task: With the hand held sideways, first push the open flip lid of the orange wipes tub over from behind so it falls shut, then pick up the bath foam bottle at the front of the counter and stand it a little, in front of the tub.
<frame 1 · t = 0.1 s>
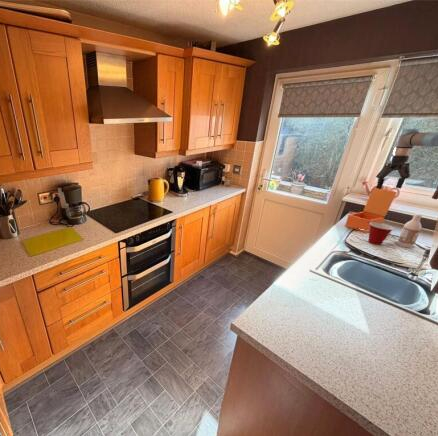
hand: (388, 188, 152), 29 cm above the worktop, tool pointing down, fingers open, 13 cm apart
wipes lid: (379, 202, 162), point 18 cm above the worktop, hinge at 100.0°
bath foam: (404, 245, 139), on the worktop
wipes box: (362, 227, 165), on the worktop
plastic cup: (374, 243, 143), on the worktop
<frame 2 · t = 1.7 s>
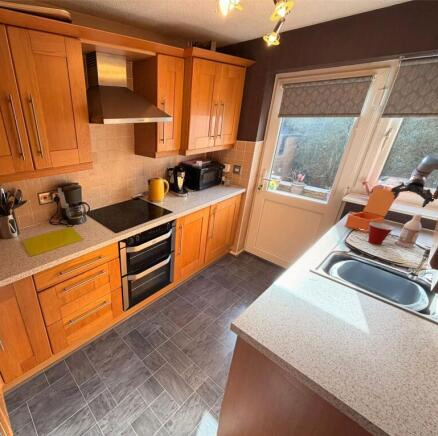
hand: (409, 201, 147), 22 cm above the worktop, tool tilted 65°, fingers open, 13 cm apart
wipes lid: (379, 202, 162), point 18 cm above the worktop, hinge at 107.2°
everything else where it was.
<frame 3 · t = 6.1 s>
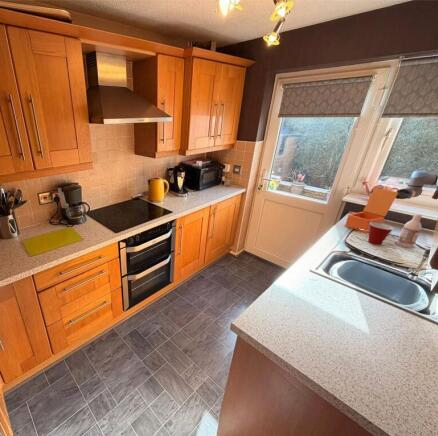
hand: (385, 197, 160), 21 cm above the worktop, tool horizontal, fingers closed
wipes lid: (379, 202, 162), point 18 cm above the worktop, hinge at 106.8°, touching gripper
everything else where it was.
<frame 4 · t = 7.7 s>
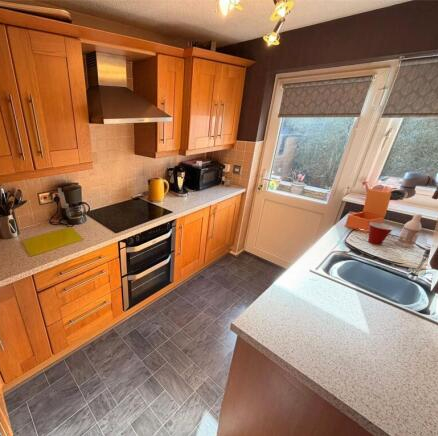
hand: (378, 198, 160), 21 cm above the worktop, tool horizontal, fingers closed
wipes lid: (376, 202, 161), point 18 cm above the worktop, hinge at 78.8°, touching gripper
everything else where it was.
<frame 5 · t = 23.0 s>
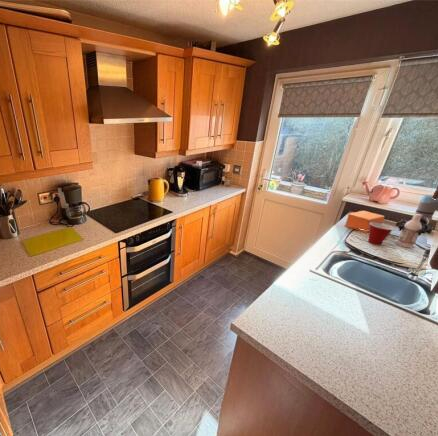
hand: (409, 230, 133), 11 cm above the worktop, tool horizontal, fingers closed on bath foam, 7 cm apart
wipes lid: (366, 215, 161), point 9 cm above the worktop, hinge at -0.1°
bath foam: (404, 245, 139), on the worktop, touching gripper
everything else where it was.
when the fingers open (11 cm above the worktop, at t = 30.1 s): bath foam stays where it is, on the worktop.
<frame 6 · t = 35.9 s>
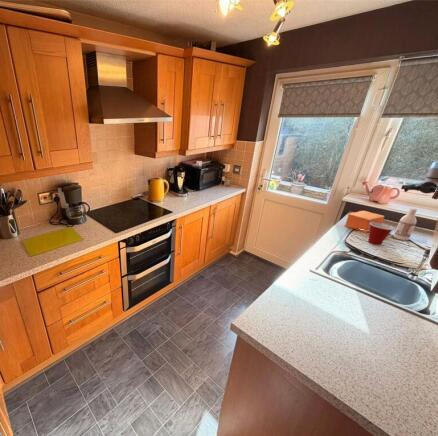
hand: (422, 192, 140), 30 cm above the worktop, tool horizontal, fingers open, 13 cm apart
bath foam: (400, 238, 148), on the worktop
everything else where it was.
at the end: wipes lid at +0° (first picture: +100°); bath foam inside the target area (0.1 cm from its centre), on the worktop; bath foam tilted 0° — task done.
